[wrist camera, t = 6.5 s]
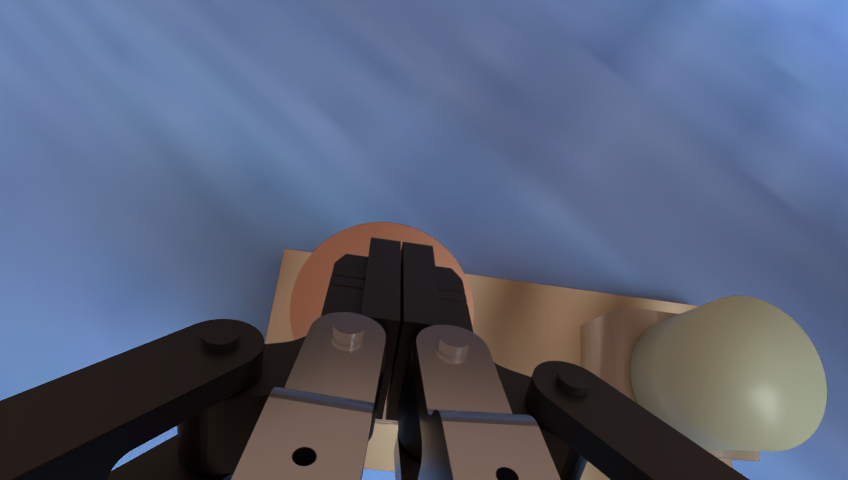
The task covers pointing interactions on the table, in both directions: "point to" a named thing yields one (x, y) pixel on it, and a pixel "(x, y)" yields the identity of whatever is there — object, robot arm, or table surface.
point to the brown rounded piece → (357, 242)
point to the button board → (526, 338)
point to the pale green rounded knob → (731, 376)
